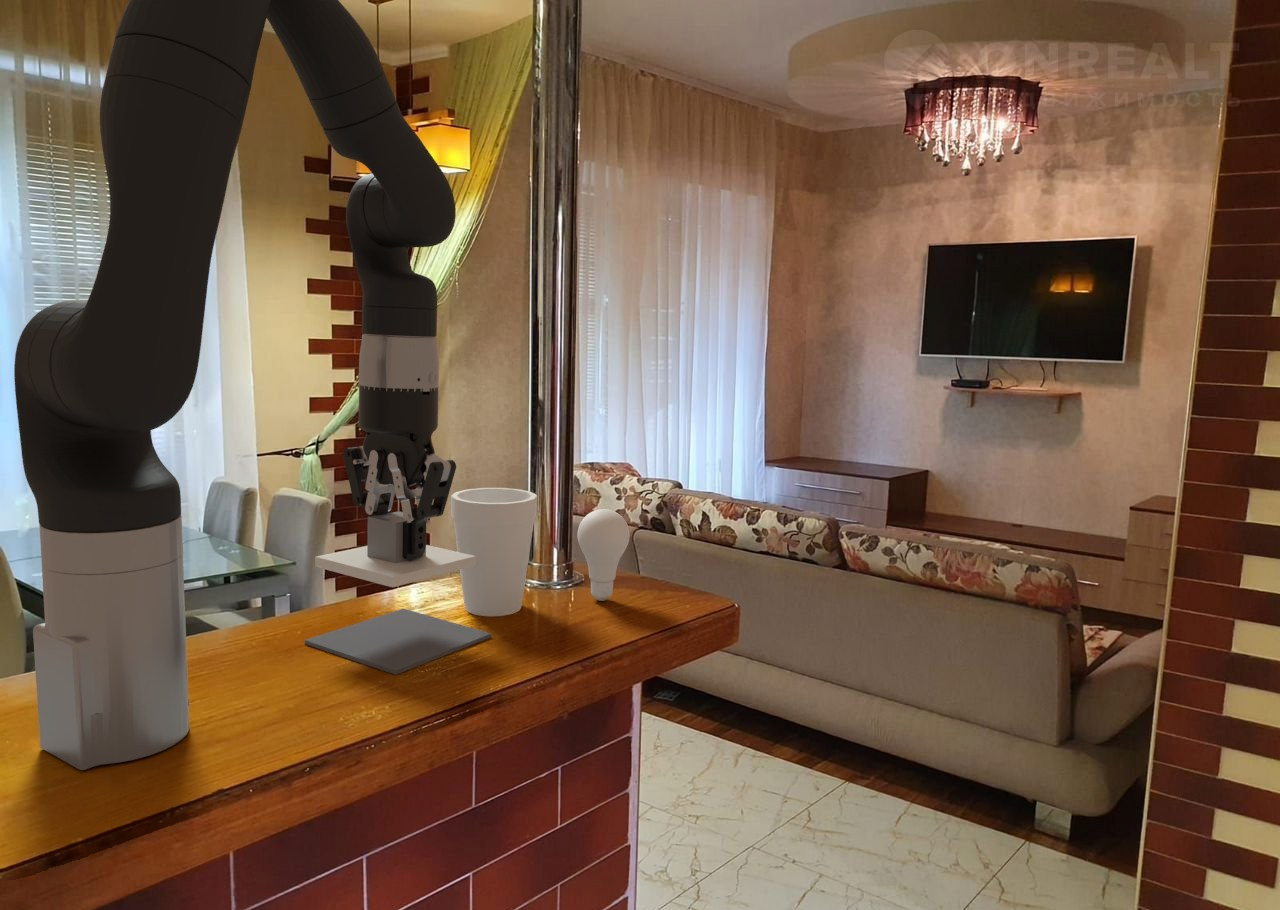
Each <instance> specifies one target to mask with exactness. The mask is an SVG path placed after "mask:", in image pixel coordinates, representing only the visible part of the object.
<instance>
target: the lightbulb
mask: <svg viewBox="0 0 1280 910" xmlns="http://www.w3.org/2000/svg"><path fill="white" fill-rule="evenodd" d="M576 535H577V541H578V542H577V543H578V545H579V547H580V550H581V552H582V553H583V555H584V557H585V560H586V563H587V568H588V577H589V579H590V594H591V595H592V597H593V598H595V599H596V600H597V601H599V602H603V601H606V600H607V599H609V598H611V597H612V596H613V592H614V591H613V590H614V580H616V576H617V575H616V574H617V569H618V564H619V563H620V560H621V557H622V556H623V555H624V553H625V551H626V549H627V547H628V545H629V541H630V538H631V537H630V528H629V525H628V523H627V521H626V519H625V518H624V517H623V516H622V515H621V514H619V512H616V511H615V510H613V509H608V508H599V509H595V510H593V511H591V512H589V513H588V514H586V515H585V516H584V517H583V518H582V520H581V522H580V523H579V525H578V528H577V534H576Z"/></svg>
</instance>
